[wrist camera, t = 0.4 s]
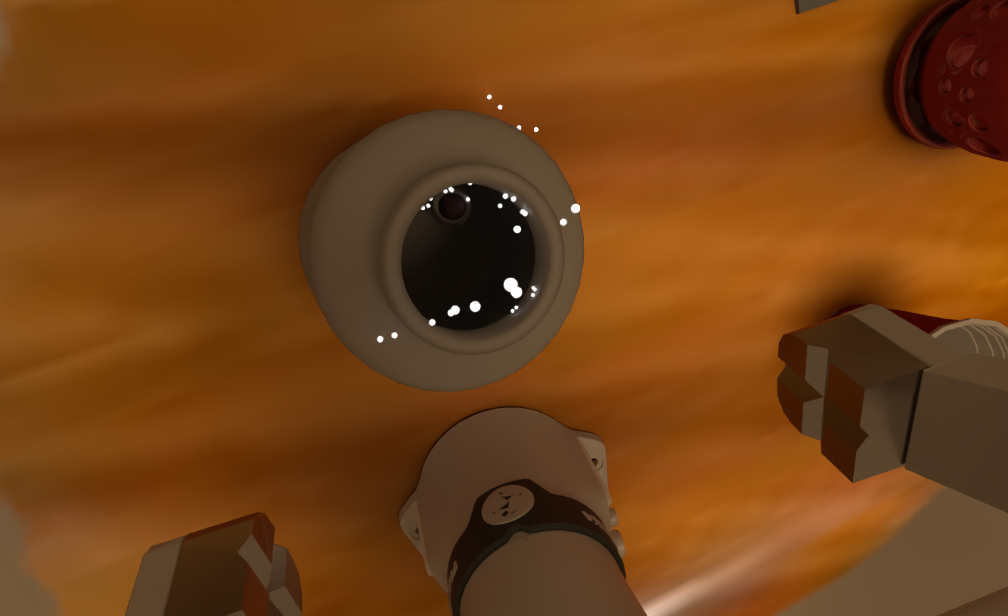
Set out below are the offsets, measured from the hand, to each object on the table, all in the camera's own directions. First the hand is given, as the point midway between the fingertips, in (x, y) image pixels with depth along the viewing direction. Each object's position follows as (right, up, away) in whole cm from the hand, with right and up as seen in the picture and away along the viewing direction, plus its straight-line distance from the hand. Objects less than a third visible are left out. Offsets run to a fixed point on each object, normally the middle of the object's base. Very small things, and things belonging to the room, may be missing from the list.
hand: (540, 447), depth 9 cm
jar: (-6, +9, +37) cm, 38 cm away
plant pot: (+36, +21, +41) cm, 59 cm away
